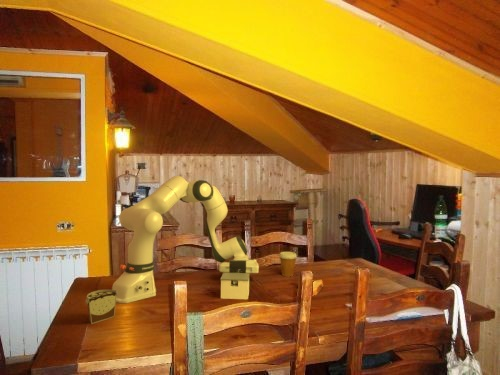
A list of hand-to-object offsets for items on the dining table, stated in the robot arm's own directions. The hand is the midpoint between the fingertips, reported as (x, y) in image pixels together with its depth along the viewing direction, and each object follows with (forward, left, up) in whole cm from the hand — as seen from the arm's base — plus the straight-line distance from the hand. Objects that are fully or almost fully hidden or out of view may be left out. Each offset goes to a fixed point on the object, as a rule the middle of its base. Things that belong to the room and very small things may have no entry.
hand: (237, 271), depth 191 cm
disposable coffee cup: (+31, -11, -7) cm, 34 cm away
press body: (-13, -7, -7) cm, 16 cm away
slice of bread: (+17, -32, -8) cm, 37 cm away
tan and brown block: (-65, +20, -7) cm, 68 cm away
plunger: (-8, -5, -5) cm, 11 cm away
